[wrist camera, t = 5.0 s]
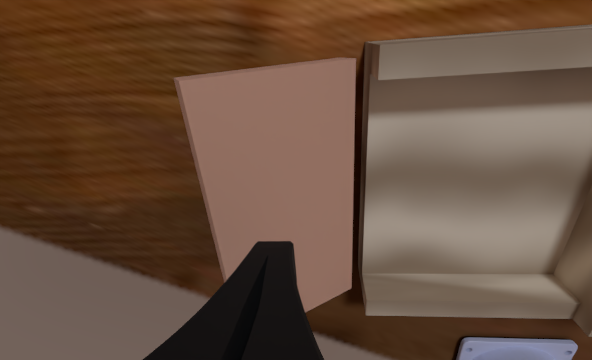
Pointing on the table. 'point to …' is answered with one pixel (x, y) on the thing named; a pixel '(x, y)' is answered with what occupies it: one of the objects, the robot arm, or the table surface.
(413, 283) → the tray
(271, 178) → the panel
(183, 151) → the table surface
